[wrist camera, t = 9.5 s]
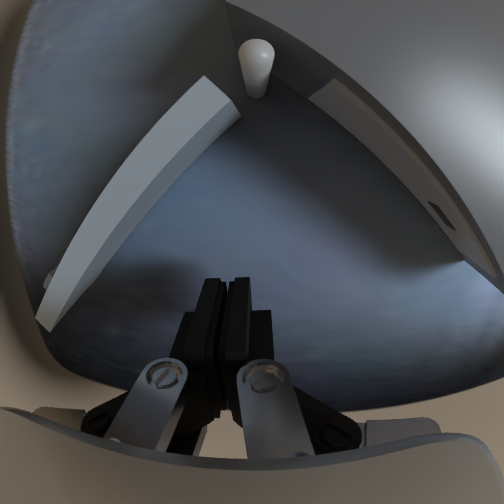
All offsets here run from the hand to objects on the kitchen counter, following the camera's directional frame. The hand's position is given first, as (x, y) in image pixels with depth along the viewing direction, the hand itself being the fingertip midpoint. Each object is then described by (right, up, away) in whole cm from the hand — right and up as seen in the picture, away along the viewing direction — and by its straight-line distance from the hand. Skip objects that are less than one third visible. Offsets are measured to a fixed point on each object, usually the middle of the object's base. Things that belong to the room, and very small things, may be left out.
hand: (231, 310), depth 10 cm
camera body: (+9, +10, -2) cm, 14 cm away
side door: (-4, +5, +1) cm, 6 cm away
